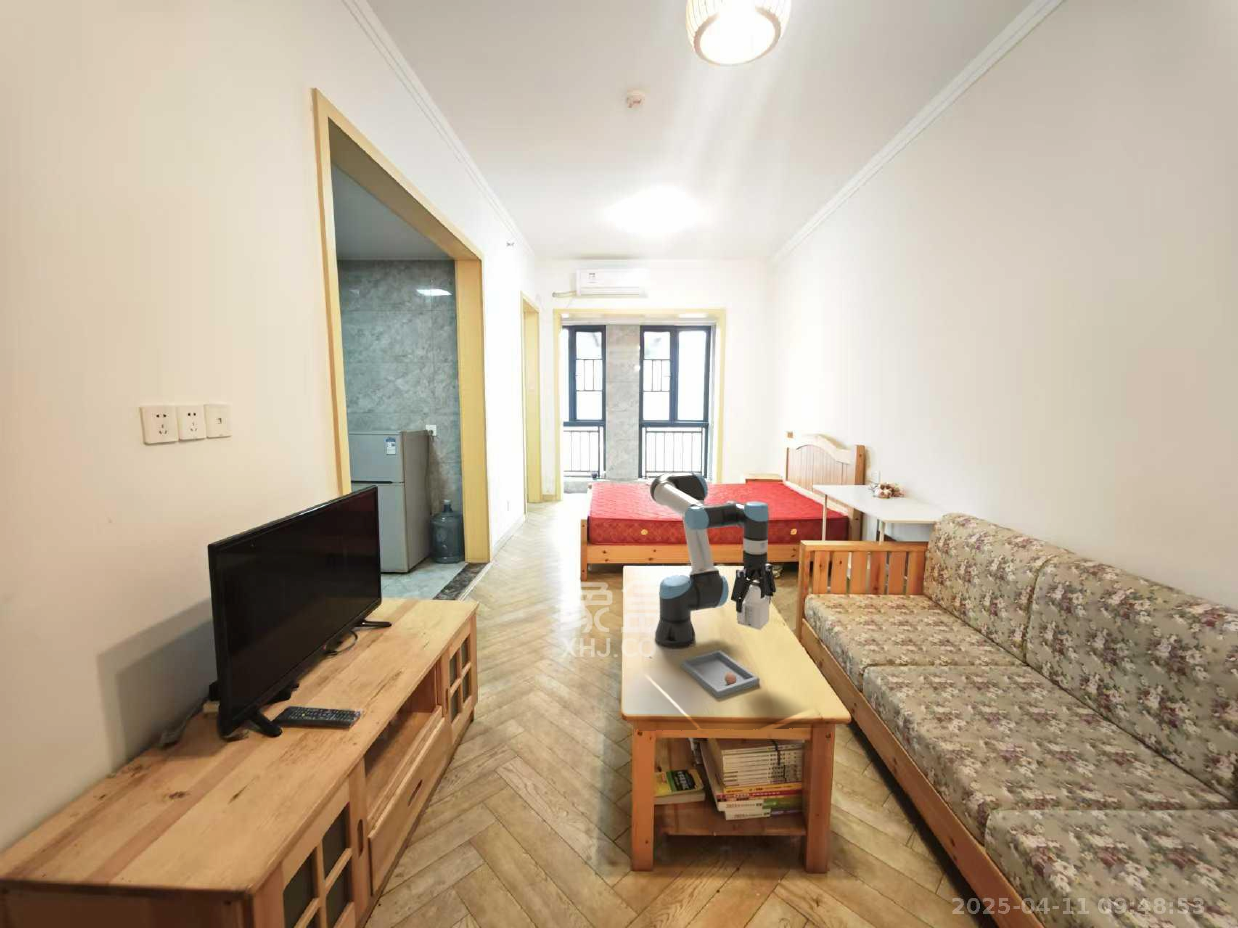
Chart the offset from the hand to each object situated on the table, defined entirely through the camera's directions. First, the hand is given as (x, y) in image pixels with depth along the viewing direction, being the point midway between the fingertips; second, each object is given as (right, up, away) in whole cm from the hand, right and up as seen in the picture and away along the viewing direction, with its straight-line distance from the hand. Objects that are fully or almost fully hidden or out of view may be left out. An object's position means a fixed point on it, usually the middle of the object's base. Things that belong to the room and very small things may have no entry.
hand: (753, 617), depth 154 cm
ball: (-9, -19, -6) cm, 22 cm away
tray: (-11, -19, 0) cm, 22 cm away
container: (0, -2, 0) cm, 2 cm away
